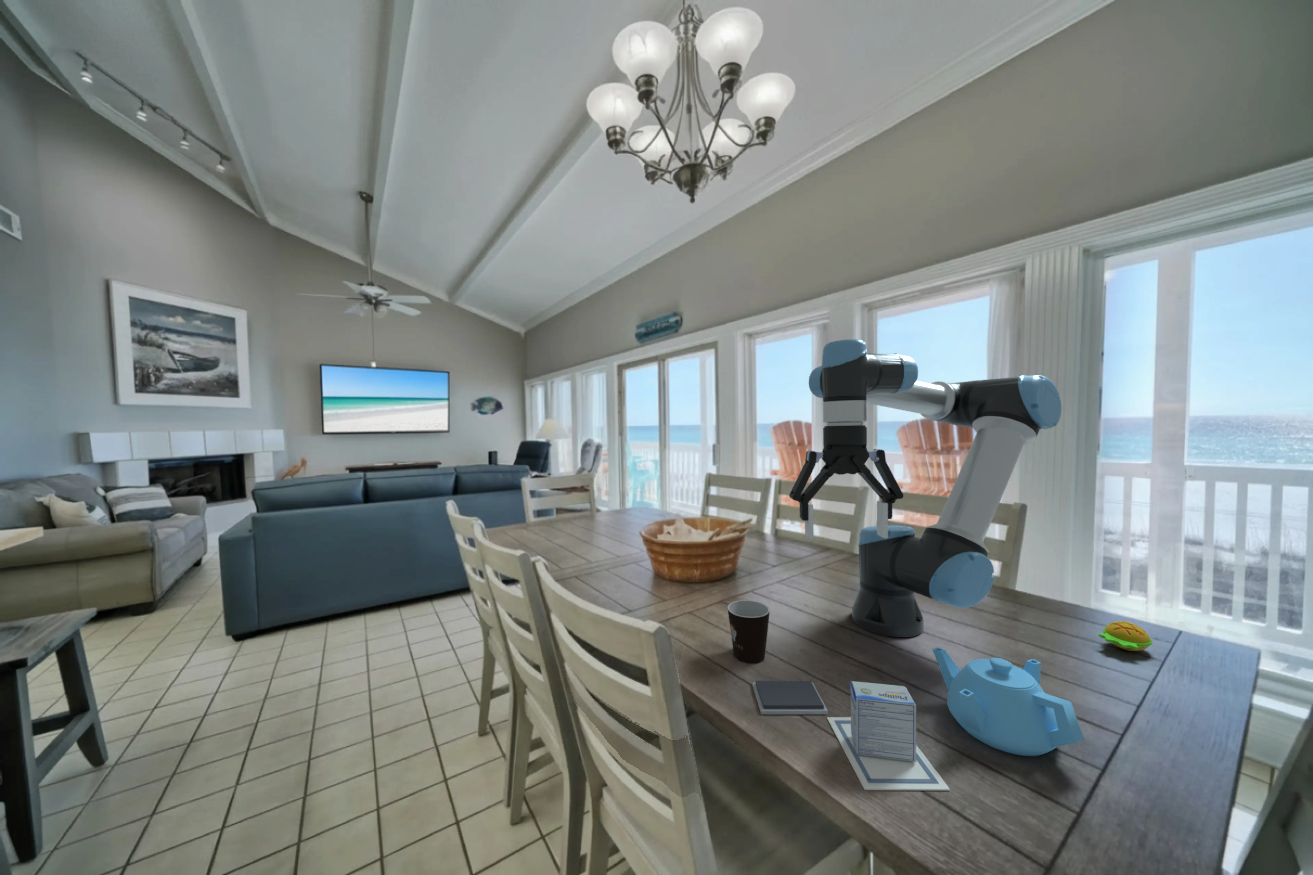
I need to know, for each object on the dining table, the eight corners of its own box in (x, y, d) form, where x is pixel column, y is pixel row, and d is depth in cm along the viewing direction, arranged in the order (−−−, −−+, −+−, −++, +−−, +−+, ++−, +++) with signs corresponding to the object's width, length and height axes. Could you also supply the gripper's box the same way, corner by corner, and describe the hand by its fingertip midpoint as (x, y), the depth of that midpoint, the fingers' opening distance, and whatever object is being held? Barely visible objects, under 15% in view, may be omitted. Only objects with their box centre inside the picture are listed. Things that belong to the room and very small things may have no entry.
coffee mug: (771, 668, 86) (770, 618, 86) (727, 664, 88) (726, 616, 88) (768, 639, 98) (767, 595, 97) (729, 637, 99) (728, 593, 99)
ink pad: (812, 685, 81) (812, 678, 81) (827, 714, 73) (827, 707, 73) (752, 685, 81) (752, 679, 81) (761, 714, 73) (761, 707, 73)
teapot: (955, 750, 64) (955, 678, 64) (931, 691, 78) (931, 632, 78) (1089, 778, 59) (1090, 700, 58) (1038, 709, 73) (1038, 645, 72)
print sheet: (895, 718, 71) (895, 716, 71) (949, 790, 57) (949, 788, 57) (827, 718, 72) (827, 716, 72) (864, 789, 58) (864, 787, 58)
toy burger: (1158, 651, 89) (1158, 625, 89) (1139, 664, 85) (1139, 637, 85) (1112, 637, 95) (1112, 612, 95) (1091, 648, 91) (1091, 623, 91)
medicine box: (906, 741, 66) (906, 685, 65) (917, 764, 61) (916, 703, 61) (850, 734, 67) (849, 679, 67) (856, 756, 63) (855, 697, 63)
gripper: (901, 422, 85) (902, 530, 86) (772, 425, 86) (774, 532, 87) (924, 422, 78) (924, 541, 78) (782, 426, 78) (784, 543, 79)
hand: (845, 537), depth 82 cm, fingers open, 13 cm apart
